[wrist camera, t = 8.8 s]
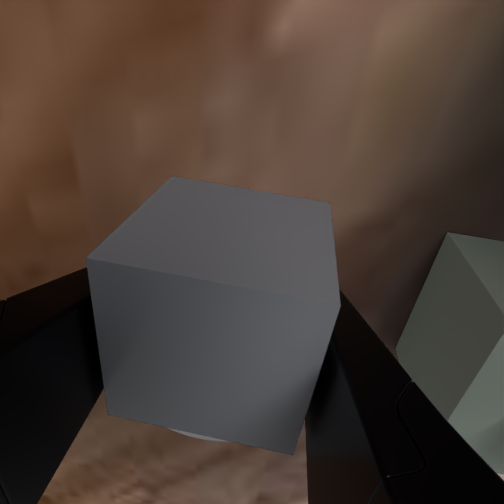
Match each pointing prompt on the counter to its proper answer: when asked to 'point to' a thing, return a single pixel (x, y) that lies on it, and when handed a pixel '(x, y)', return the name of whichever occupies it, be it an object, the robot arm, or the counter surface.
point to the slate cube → (216, 311)
